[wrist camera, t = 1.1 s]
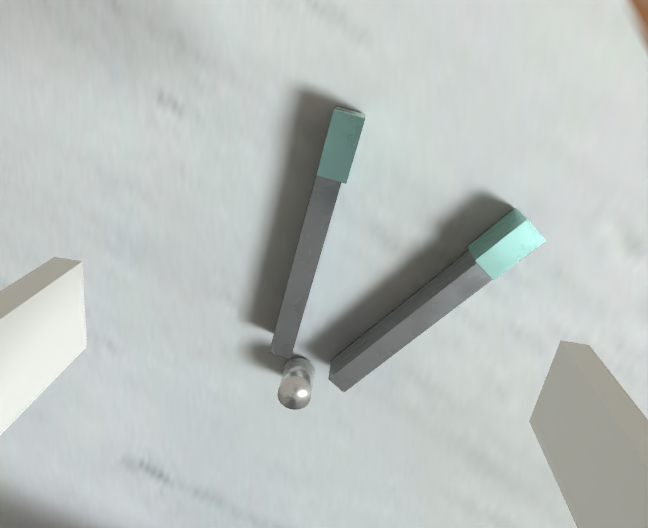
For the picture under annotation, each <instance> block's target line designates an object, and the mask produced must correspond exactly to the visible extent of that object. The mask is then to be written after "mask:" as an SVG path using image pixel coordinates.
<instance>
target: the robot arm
mask: <svg viewBox="0 0 648 528" xmlns="http://www.w3.org/2000/svg"><path fill="white" fill-rule="evenodd" d="M86 347H87V339H86V321H85V304H84V286H83V268H82V261H76V260H70V259H64V258H58V257H54V258H52V259H51V260H49V261H48V262H46V263H44V264H43V265H41V266H40V267H38V268H36V269H35V270H33V271H32V272H30V273H28V274H27V275H25V276H24V277H22V278H21V279H19V280H17V281H16V282H14V283H13V284H11V285H9V286H8V287H6V288H5V289H3V290H1V291H0V435H1V434H2V433H3V432H4V431H5V430H6V429H7V428H8V427H9V426H10V425H11V424H12V423H13V422H14V421H15V420H16V419H17V418H18V417H19V416H20V415H21V414H22V413H23V412H24V411H25V409H26V408H27V407H28V406H29V405H30V404H31V403H32V402H33V401H34V400H35V399H36V398H37V397H38V396H39V395H40V394H41V393H42V392H43V391H44V390H45V389H46V388H47V387H48V386H49V385H50V384H51V383H52V382H53V381H54V380H55V379H56V378H57V377H58V376H59V375H60V374H61V373H62V372H63V371H64V370H65V369H66V368H67V367H68V366H69V365H70V364H71V363H72V361H73V360H74V359H75V358H76V357H77V356H78V355H79V354H80V353H81V352H82V351H83V350H84V349H85V348H86ZM529 422H530V424H531V426H532V428H533V430H534V433H535V435H536V437H537V439H538V441H539V444H540V446H541V448H542V450H543V453H544V455H545V457H546V459H547V461H548V464H549V466H550V468H551V470H552V472H553V475H554V477H555V479H556V481H557V483H558V486H559V488H560V490H561V492H562V495H563V497H564V499H565V501H566V503H567V506H568V508H569V510H570V512H571V514H572V517H573V519H574V521H575V523H576V525H577V528H648V420H647V418H646V417H645V416H644V414H643V413H642V412H641V411H640V409H639V408H638V407H637V405H636V404H635V403H634V402H633V400H632V399H631V398H630V397H629V395H628V394H627V393H626V391H625V390H624V389H623V388H622V386H621V385H620V384H619V383H618V381H617V380H616V379H615V377H614V376H613V375H612V374H611V372H610V371H609V370H608V369H607V367H606V366H605V365H604V363H603V362H602V361H601V360H600V358H599V357H598V356H597V354H596V353H595V352H594V351H593V349H592V348H591V347H590V346H589V345H585V344H579V343H573V342H566V341H560V344H559V346H558V349H557V352H556V354H555V357H554V359H553V362H552V364H551V367H550V370H549V372H548V375H547V377H546V380H545V382H544V385H543V387H542V390H541V393H540V395H539V398H538V400H537V403H536V405H535V408H534V411H533V413H532V416H531V418H530V421H529Z"/></svg>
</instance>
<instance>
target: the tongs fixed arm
mask: <svg viewBox="0 0 648 528" xmlns="http://www.w3.org/2000/svg"><path fill="white" fill-rule="evenodd" d="M545 241H546V240H545V239H544V238H543V236H542V235H541V234H540V233H539V232H538V231H537V230H536V229H535V227H534V226H533V225H532V224H531V223H530V222H529V221H528V219H527V218H526V217H524V216H523V215H522V214H521V213H520V212H519V211H518V210H517V209H516V208H514V209H513V210H512V211H511V212H509V213H508V214H507V215H506V216H504V217H503V218H502V219H501V220H500V221H498V222H497V223H496V224H495V225H493V226H492V227H491V228H490V229H488V230H487V231H486V232H485V233H483V234H482V235H481V236H480V237H478V238H477V239H476V240H475V241H473V242H472V243H471V244H470V245H468V246H467V247H468V249H469V251H467V252H466V253H465V254H464V255H462V256H461V257H460V258H459V259H457V260H456V261H455V262H454V263H452V264H451V265H450V266H449V267H447V268H446V269H445V270H444V271H442V272H441V273H440V274H439V275H437V276H436V277H435V278H434V279H432V280H431V281H430V282H429V283H427V284H426V285H425V286H424V287H422V288H421V289H420V290H419V291H417V292H416V293H415V294H414V295H412V296H411V297H410V298H409V299H407V300H406V301H405V302H404V303H402V304H401V305H400V306H399V307H397V308H396V309H395V310H394V311H392V312H391V313H390V314H389V315H387V316H386V317H385V318H384V319H382V320H381V321H380V322H379V323H377V324H376V325H375V326H374V327H372V328H371V329H370V330H369V331H367V332H366V333H365V334H364V335H362V336H361V337H360V338H359V339H357V340H356V341H355V342H354V343H352V344H351V345H350V346H349V347H347V348H346V349H345V350H344V351H342V352H341V353H340V354H339V355H337V356H336V357H335V358H334V359H332V360H331V363H330V372H329V380H330V381H331V382H333V383H334V384H335V385H336V386H337V387H338V388H339V389H340V390H341V391H343V392H345V391H347V390H348V389H349V388H350V387H352V386H353V385H354V384H356V383H357V382H358V381H360V380H361V379H362V378H364V377H365V376H366V375H368V374H369V373H370V372H371V371H373V370H374V369H375V368H377V367H378V366H379V365H381V364H382V363H383V362H385V361H386V360H387V359H389V358H390V357H391V356H393V355H394V354H395V353H396V352H398V351H399V350H400V349H402V348H403V347H404V346H406V345H407V344H408V343H410V342H411V341H412V340H414V339H415V338H416V337H417V336H419V335H420V334H421V333H423V332H424V331H425V330H427V329H428V328H429V327H431V326H432V325H433V324H435V323H436V322H437V321H439V320H440V319H441V318H442V317H444V316H445V315H446V314H448V313H449V312H450V311H452V310H453V309H454V308H456V307H457V306H458V305H460V304H461V303H462V302H463V301H465V300H466V299H467V298H469V297H470V296H471V295H473V294H474V293H475V292H477V291H478V290H479V289H481V288H482V287H483V286H485V285H486V284H487V283H488V282H490V281H491V280H492V279H493V280H495V279H496V278H497V277H499V276H500V275H501V274H503V273H504V272H505V271H507V270H508V269H509V268H511V267H512V266H513V265H515V264H516V263H517V262H518V261H520V260H521V259H522V258H524V257H525V256H526V255H528V254H529V253H530V252H532V251H533V250H534V249H536V248H537V247H538V246H540V245H541V244H542V243H543V242H545ZM314 372H315V371H314V367H313V365H312V364H311V363H310V362H309V361H308V360H306V359H304V358H293V359H291V360H289V361H288V362H287V363H286V365H285V368H284V371H283V375H282V379H281V383H280V387H279V390H278V399H279V401H280V403H281V404H282V405H284V406H285V407H287V408H289V409H301V408H304V407H305V406H306V405H307V404H308V403H309V401H310V397H311V391H312V385H313V379H314Z"/></svg>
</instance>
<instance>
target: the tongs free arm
mask: <svg viewBox="0 0 648 528" xmlns="http://www.w3.org/2000/svg"><path fill="white" fill-rule="evenodd" d="M364 121H365V114H362V113H359V112H356V111H352V110H349V109H345V108H342V107H338V106H336V107H335V108H334V110H333V114H332V118H331V122H330V125H329V129H328V133H327V137H326V140H325V144H324V148H323V152H322V155H321V159H320V163H319V167H318V170H317V174H316V178H315V182H314V186H313V190H312V193H311V197H310V201H309V205H308V208H307V212H306V216H305V220H304V223H303V227H302V231H301V235H300V238H299V242H298V246H297V250H296V253H295V257H294V261H293V265H292V268H291V272H290V276H289V280H288V283H287V287H286V291H285V295H284V298H283V302H282V306H281V310H280V313H279V317H278V321H277V325H276V328H275V332H274V336H273V340H272V343H271V347H270V351H269V353H272V354H276V355H279V356H283V357H286V358H291V355H292V351H293V348H294V344H295V341H296V337H297V334H298V330H299V327H300V323H301V320H302V316H303V313H304V310H305V306H306V303H307V299H308V296H309V292H310V289H311V285H312V282H313V278H314V275H315V271H316V268H317V265H318V261H319V258H320V254H321V251H322V247H323V244H324V240H325V237H326V233H327V230H328V226H329V223H330V220H331V216H332V213H333V209H334V206H335V202H336V199H337V195H338V192H339V188H340V185H341V182H342V183H346V182H347V179H348V175H349V172H350V168H351V165H352V162H353V158H354V155H355V151H356V148H357V144H358V141H359V138H360V134H361V131H362V127H363V124H364Z"/></svg>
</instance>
